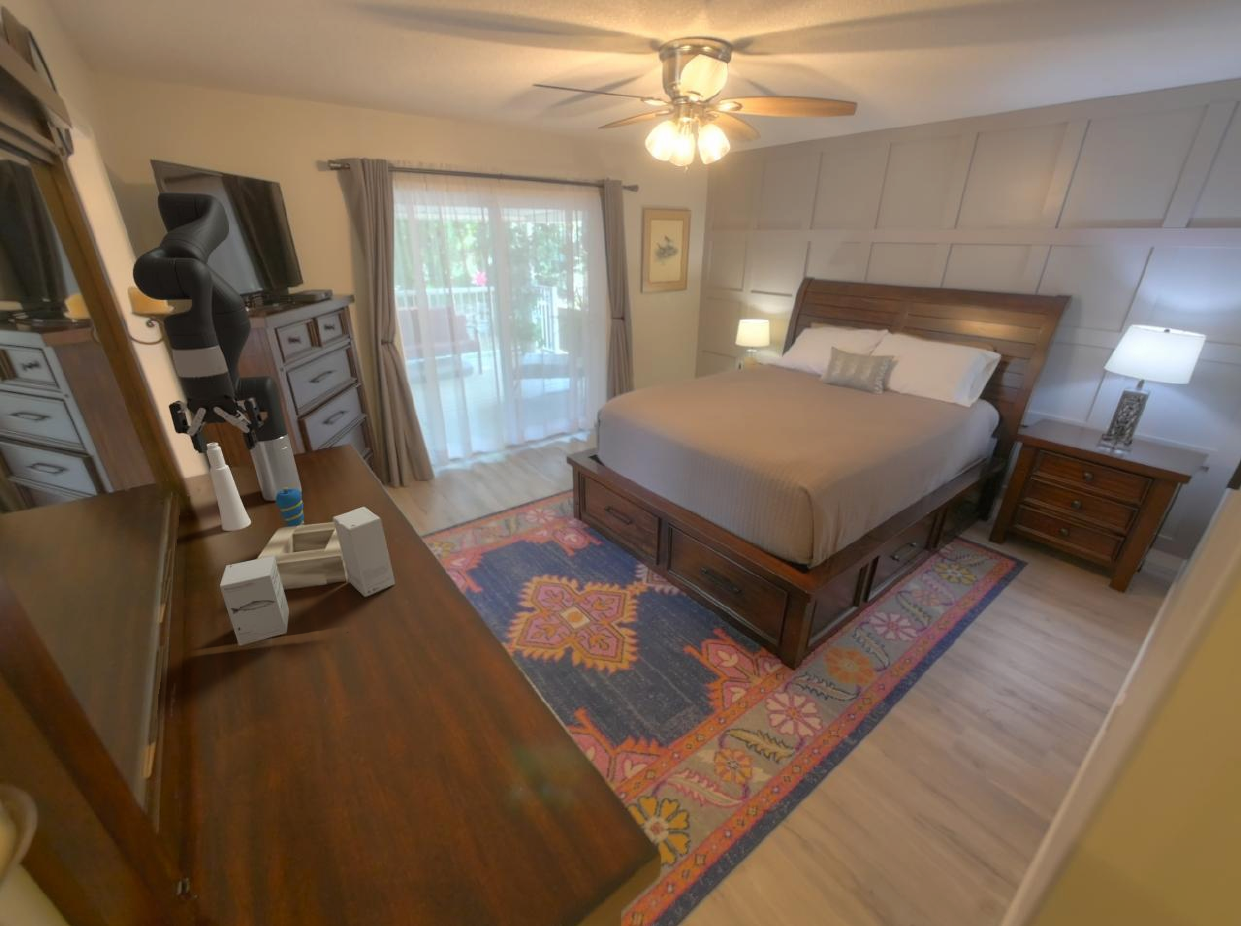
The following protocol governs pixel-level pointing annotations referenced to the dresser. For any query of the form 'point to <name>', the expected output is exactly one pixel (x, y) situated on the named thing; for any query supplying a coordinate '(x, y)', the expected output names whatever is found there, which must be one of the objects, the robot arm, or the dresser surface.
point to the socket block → (307, 555)
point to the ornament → (291, 506)
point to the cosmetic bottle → (226, 491)
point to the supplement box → (255, 599)
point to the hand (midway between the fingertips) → (227, 450)
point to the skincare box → (364, 550)
